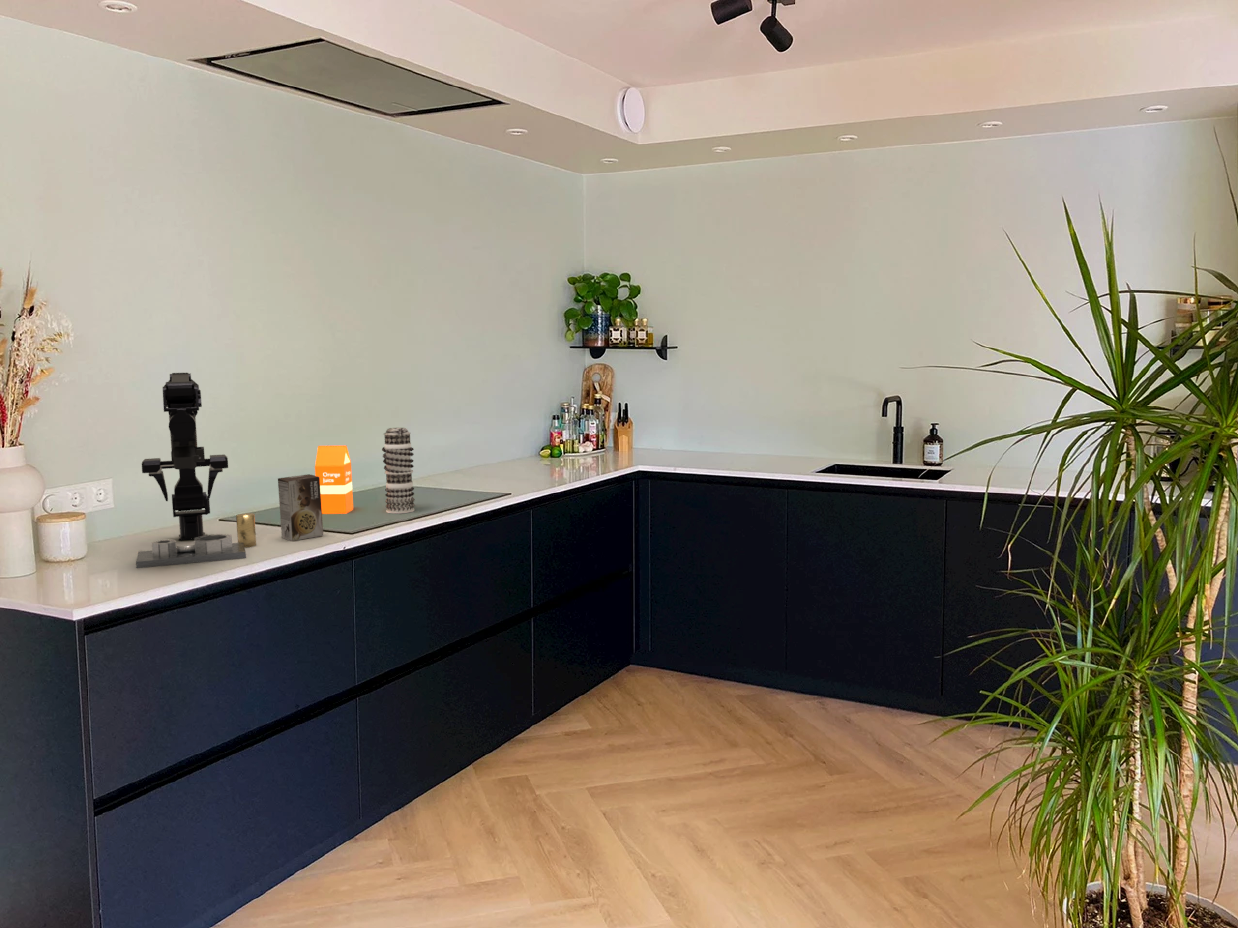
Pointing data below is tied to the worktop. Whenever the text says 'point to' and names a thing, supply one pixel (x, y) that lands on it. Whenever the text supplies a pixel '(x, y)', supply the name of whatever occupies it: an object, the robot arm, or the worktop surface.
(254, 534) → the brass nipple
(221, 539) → the manifold
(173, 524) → the worktop surface
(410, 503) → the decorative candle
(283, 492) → the coffee box
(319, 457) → the orange juice
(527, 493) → the worktop surface
